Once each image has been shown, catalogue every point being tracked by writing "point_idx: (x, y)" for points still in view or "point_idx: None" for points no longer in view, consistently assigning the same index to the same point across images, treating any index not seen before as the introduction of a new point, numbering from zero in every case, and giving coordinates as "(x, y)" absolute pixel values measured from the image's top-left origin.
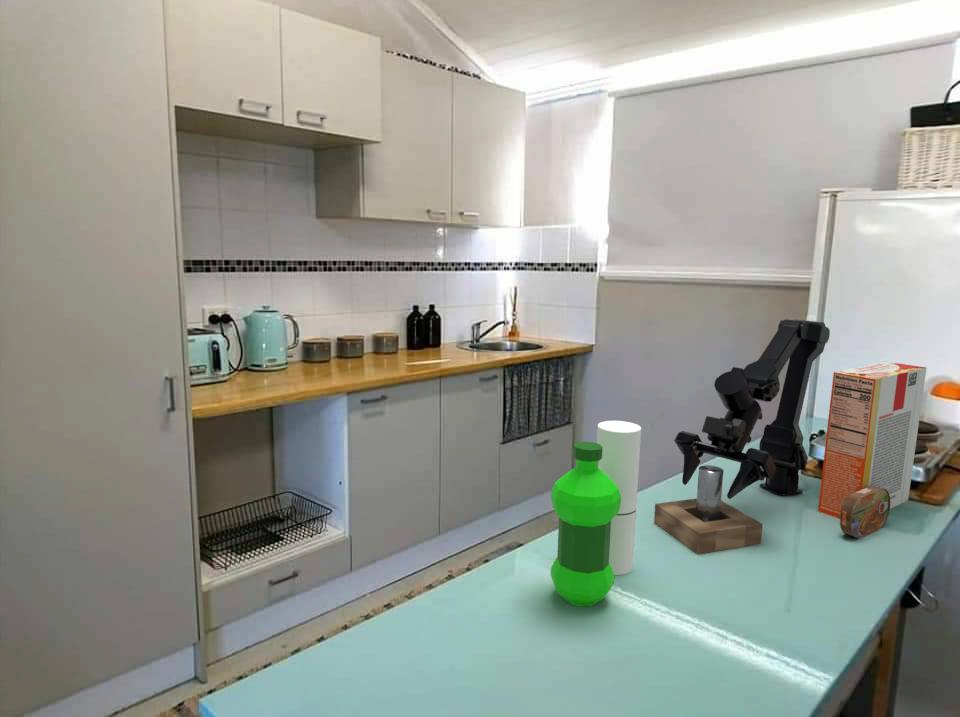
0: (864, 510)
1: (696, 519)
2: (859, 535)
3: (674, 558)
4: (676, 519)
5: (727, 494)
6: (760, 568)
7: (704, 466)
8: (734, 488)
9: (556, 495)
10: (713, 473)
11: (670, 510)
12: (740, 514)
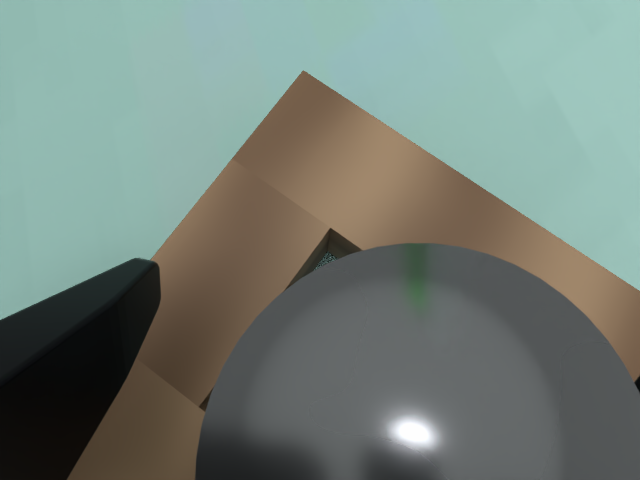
0: None
1: (380, 243)
2: None
3: (371, 38)
4: (478, 191)
5: (149, 262)
6: (49, 159)
7: None
8: (50, 297)
9: None
10: (322, 270)
11: (561, 276)
12: None
